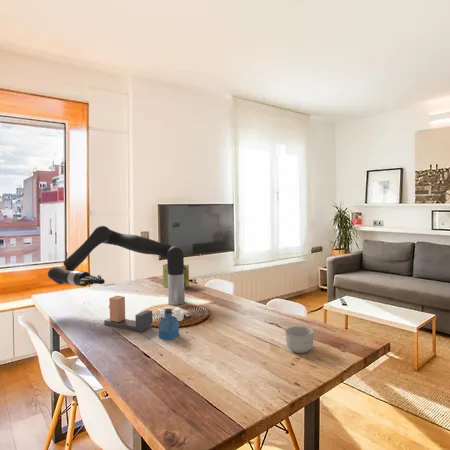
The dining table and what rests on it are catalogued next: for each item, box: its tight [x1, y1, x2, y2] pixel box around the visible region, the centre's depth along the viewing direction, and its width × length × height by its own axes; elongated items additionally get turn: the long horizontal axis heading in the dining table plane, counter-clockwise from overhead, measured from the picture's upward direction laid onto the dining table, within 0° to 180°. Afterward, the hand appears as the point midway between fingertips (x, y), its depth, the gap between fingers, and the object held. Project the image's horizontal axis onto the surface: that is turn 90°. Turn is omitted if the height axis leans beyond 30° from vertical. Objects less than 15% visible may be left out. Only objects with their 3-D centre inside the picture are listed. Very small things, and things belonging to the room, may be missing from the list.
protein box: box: [162, 263, 190, 289], centre depth 240 cm, size 10×15×16 cm
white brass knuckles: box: [157, 306, 192, 322], centre depth 177 cm, size 3×18×15 cm
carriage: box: [108, 295, 126, 322], centre depth 167 cm, size 6×5×11 cm
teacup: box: [284, 324, 314, 354], centre depth 137 cm, size 14×11×8 cm
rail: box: [103, 309, 153, 333], centre depth 164 cm, size 24×8×8 cm, turn 62°
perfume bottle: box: [158, 309, 180, 341], centre depth 151 cm, size 6×6×12 cm
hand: (103, 281), depth 170 cm, fingers closed
